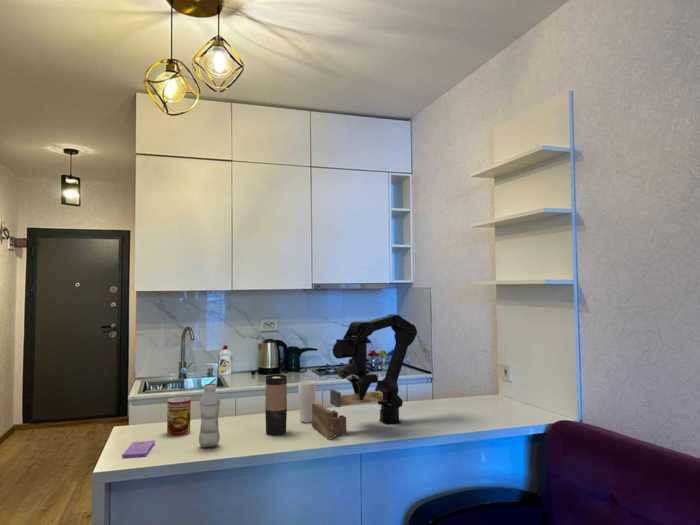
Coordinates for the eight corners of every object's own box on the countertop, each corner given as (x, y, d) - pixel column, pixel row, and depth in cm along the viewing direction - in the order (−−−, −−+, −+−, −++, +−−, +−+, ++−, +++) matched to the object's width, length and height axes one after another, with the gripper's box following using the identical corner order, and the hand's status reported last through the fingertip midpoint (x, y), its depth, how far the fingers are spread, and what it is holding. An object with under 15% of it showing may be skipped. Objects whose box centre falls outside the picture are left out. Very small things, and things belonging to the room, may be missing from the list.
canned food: (166, 437, 173) (166, 402, 173) (168, 431, 180) (168, 397, 181) (189, 435, 175) (190, 400, 175) (190, 429, 182) (191, 396, 183)
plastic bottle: (200, 443, 165) (201, 383, 166) (221, 443, 166) (222, 382, 167) (196, 449, 159) (197, 386, 160) (218, 449, 159) (218, 386, 160)
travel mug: (290, 430, 180) (290, 375, 181) (280, 436, 172) (280, 378, 173) (271, 428, 182) (271, 374, 183) (261, 434, 175) (261, 377, 176)
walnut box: (332, 425, 187) (332, 400, 187) (349, 436, 172) (348, 410, 173) (312, 427, 184) (312, 402, 184) (327, 439, 169) (327, 412, 170)
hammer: (376, 398, 188) (376, 384, 189) (385, 401, 183) (384, 387, 183) (330, 403, 180) (330, 389, 180) (337, 407, 174) (337, 393, 174)
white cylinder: (313, 424, 188) (313, 384, 189) (296, 423, 190) (296, 383, 191) (317, 419, 195) (317, 381, 196) (301, 418, 196) (301, 380, 197)
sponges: (155, 445, 165) (155, 440, 165) (146, 458, 152) (146, 452, 152) (132, 447, 163) (132, 441, 164) (121, 460, 151) (121, 454, 151)
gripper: (329, 354, 187) (329, 396, 187) (350, 361, 171) (350, 406, 170) (355, 352, 192) (355, 393, 191) (378, 358, 175) (379, 403, 175)
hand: (359, 399), depth 182 cm, fingers closed on hammer, 3 cm apart
